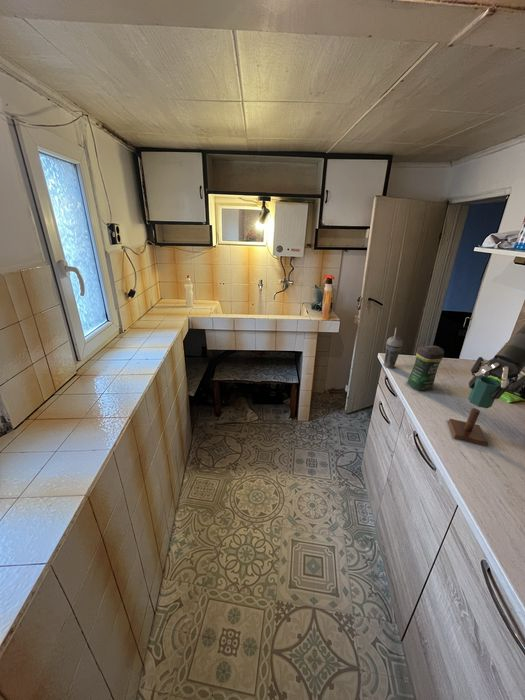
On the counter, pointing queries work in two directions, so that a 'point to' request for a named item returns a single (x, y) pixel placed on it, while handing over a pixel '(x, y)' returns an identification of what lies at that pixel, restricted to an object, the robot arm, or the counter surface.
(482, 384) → the green octagonal tube
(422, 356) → the coffee jar
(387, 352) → the beverage cup
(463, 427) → the peg stand
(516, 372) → the robot arm
